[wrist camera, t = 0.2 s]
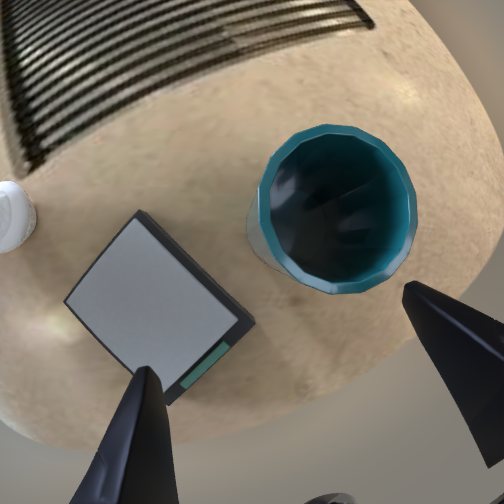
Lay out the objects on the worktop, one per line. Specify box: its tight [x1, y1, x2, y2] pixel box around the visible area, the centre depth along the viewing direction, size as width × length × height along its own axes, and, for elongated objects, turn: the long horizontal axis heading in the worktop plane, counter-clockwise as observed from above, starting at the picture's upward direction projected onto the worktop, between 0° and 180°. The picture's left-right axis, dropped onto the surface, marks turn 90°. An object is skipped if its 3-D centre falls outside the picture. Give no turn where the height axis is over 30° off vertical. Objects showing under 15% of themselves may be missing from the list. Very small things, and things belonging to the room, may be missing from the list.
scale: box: [63, 210, 255, 406], centre depth 23 cm, size 12×10×3 cm
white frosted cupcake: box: [0, 181, 37, 253], centre depth 20 cm, size 6×6×7 cm
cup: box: [246, 124, 418, 295], centre depth 18 cm, size 7×7×13 cm
